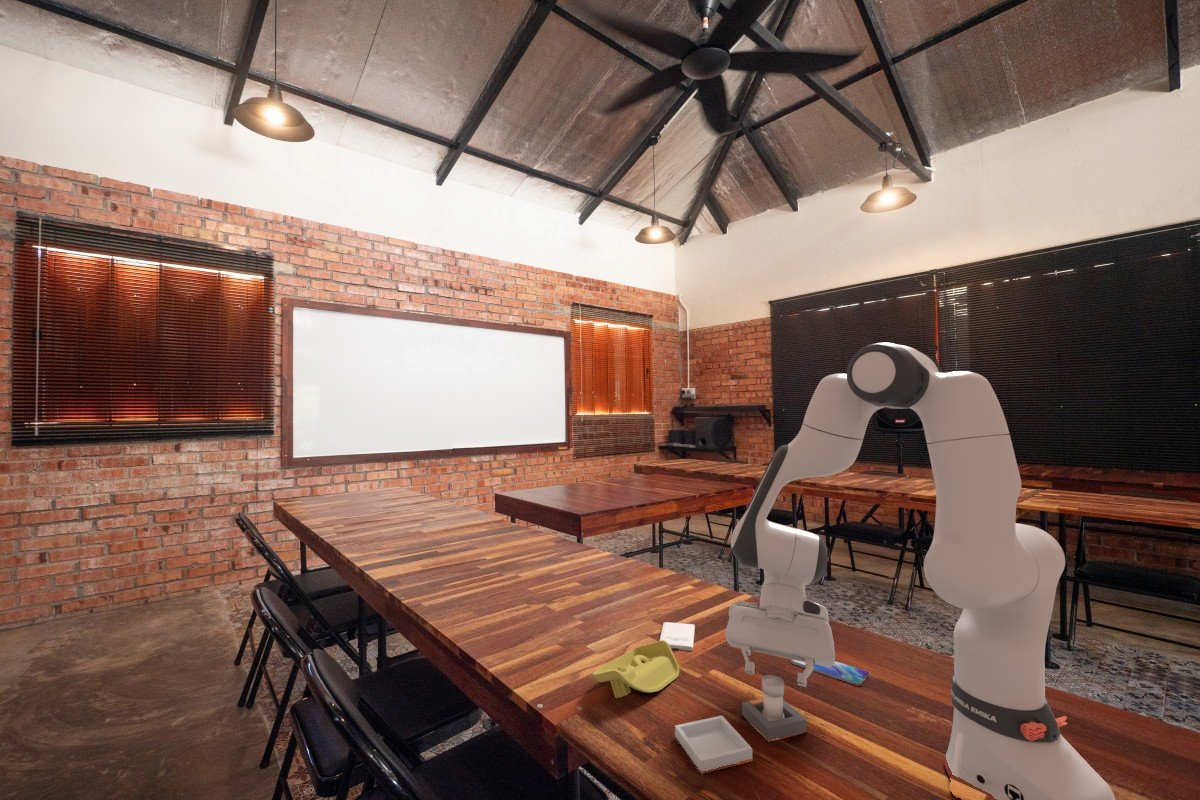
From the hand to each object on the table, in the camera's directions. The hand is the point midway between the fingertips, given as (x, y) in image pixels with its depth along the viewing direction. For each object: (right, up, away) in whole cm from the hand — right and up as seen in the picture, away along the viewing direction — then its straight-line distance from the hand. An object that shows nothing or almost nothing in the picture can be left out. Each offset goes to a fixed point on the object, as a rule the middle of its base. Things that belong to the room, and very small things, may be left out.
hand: (774, 678), depth 96 cm
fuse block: (-1, -7, -3) cm, 8 cm away
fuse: (-1, -7, -3) cm, 8 cm away
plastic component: (-26, -8, +12) cm, 29 cm away
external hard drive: (-13, -8, +33) cm, 36 cm away
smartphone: (+18, -8, +17) cm, 26 cm away
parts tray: (-14, -7, -9) cm, 18 cm away
